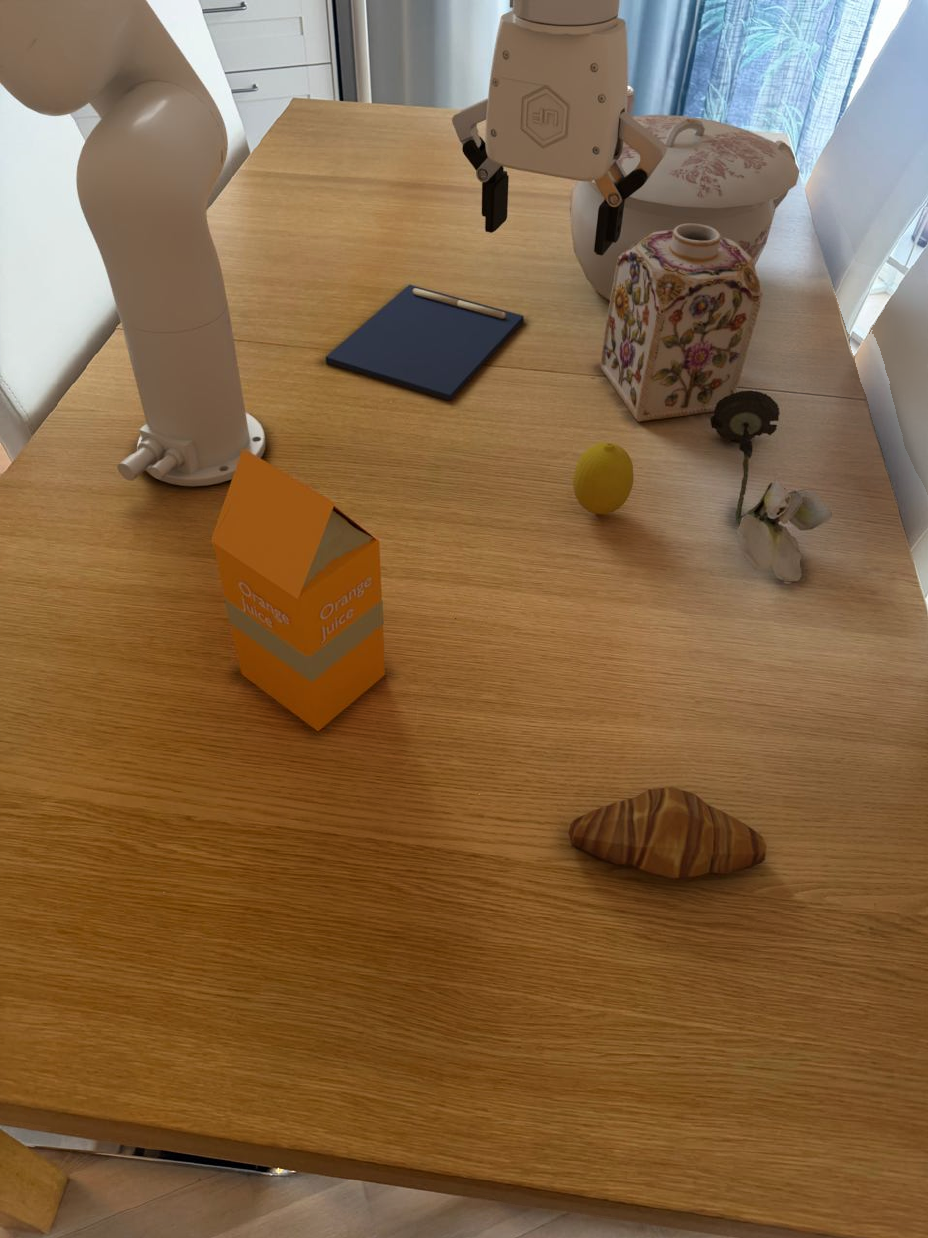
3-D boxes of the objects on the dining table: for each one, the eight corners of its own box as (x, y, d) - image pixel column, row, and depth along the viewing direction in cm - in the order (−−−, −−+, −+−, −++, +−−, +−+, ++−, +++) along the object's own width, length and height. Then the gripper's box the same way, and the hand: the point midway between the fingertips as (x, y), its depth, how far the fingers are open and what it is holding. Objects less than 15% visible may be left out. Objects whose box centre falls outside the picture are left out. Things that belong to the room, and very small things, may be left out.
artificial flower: (776, 450, 99) (832, 382, 91) (780, 615, 86) (845, 551, 78) (701, 422, 98) (750, 350, 90) (692, 584, 85) (750, 517, 77)
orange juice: (309, 621, 78) (284, 422, 64) (387, 674, 75) (378, 475, 60) (238, 675, 74) (194, 474, 59) (316, 734, 70) (290, 535, 56)
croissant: (754, 815, 67) (773, 776, 63) (767, 903, 62) (789, 866, 58) (566, 798, 67) (575, 759, 63) (566, 884, 62) (574, 846, 59)
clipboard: (450, 401, 102) (450, 388, 100) (325, 362, 106) (324, 350, 105) (523, 321, 114) (524, 309, 113) (409, 289, 119) (409, 278, 118)
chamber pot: (532, 325, 113) (549, 146, 98) (568, 231, 132) (587, 69, 117) (764, 361, 110) (818, 181, 95) (767, 259, 128) (814, 95, 113)
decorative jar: (634, 425, 100) (667, 263, 87) (595, 367, 107) (620, 211, 94) (735, 411, 102) (781, 252, 89) (689, 356, 110) (726, 202, 97)
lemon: (625, 496, 91) (639, 429, 85) (626, 533, 87) (641, 465, 82) (569, 491, 91) (579, 423, 86) (567, 528, 88) (578, 459, 82)
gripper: (431, -6, 65) (436, 235, 78) (670, 25, 60) (634, 277, 73) (476, -29, 70) (473, 201, 82) (700, -3, 65) (662, 238, 77)
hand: (549, 236), depth 77 cm, fingers open, 9 cm apart
